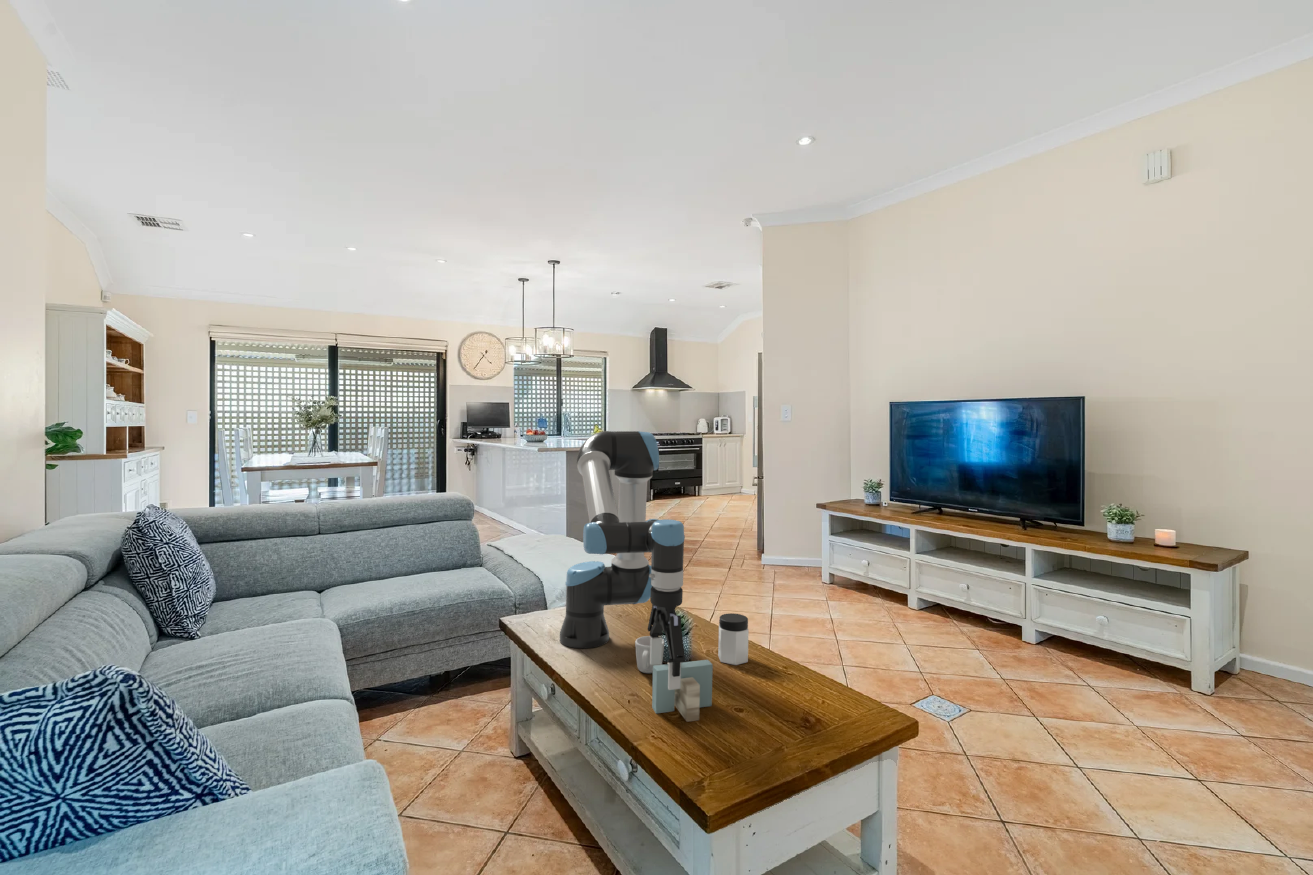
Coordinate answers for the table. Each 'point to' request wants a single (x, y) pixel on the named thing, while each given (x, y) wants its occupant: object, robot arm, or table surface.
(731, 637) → the jar
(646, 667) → the cup
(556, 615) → the table surface
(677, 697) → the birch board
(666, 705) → the teal board
